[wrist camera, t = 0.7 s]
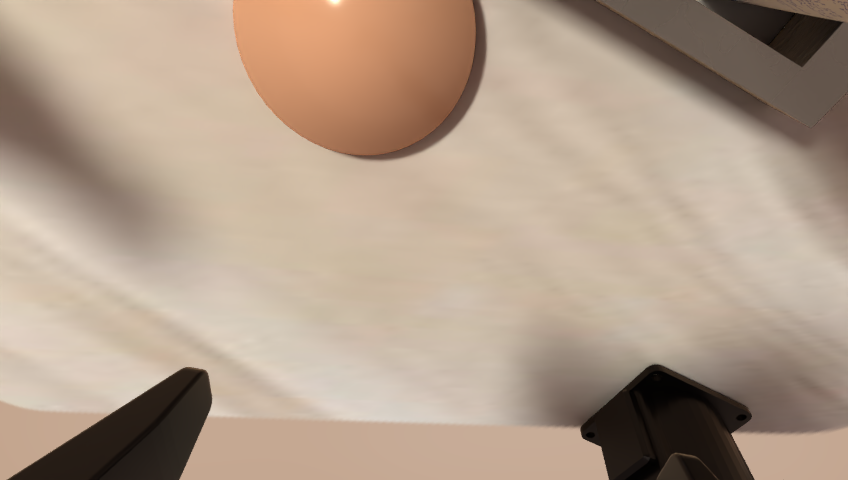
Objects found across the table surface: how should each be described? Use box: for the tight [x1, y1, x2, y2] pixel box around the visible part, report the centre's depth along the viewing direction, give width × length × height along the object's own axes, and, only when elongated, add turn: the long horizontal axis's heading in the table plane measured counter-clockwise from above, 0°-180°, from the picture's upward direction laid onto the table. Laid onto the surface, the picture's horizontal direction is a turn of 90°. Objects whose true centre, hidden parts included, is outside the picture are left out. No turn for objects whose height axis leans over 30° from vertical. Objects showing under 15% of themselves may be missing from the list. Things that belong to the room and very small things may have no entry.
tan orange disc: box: [233, 0, 476, 155], centre depth 18 cm, size 9×9×1 cm
